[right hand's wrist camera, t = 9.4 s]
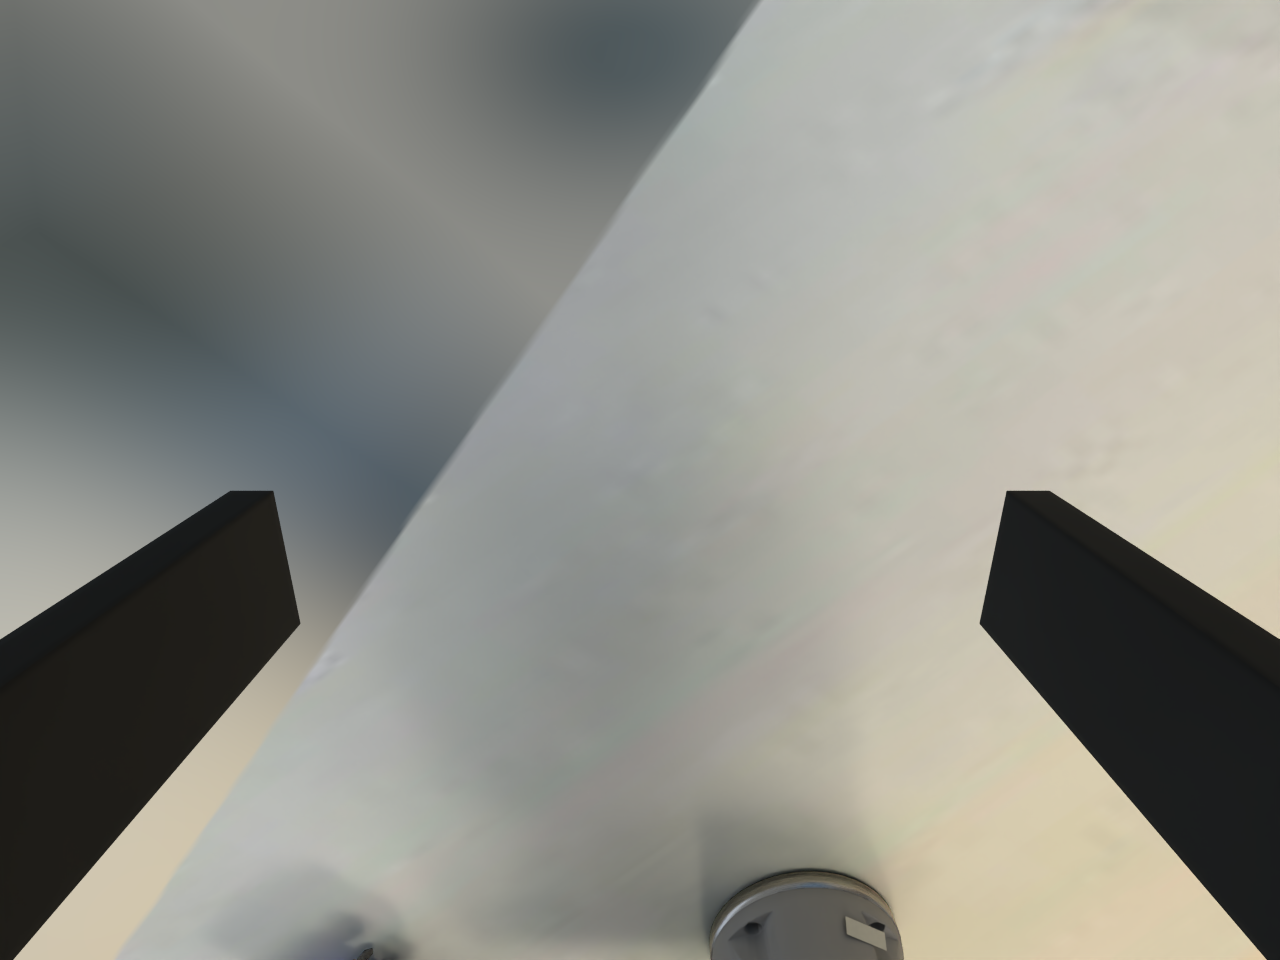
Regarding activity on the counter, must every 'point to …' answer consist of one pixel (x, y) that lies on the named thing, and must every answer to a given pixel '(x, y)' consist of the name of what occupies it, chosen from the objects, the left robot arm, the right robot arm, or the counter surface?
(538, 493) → the counter surface
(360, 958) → the figurine character
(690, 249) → the counter surface
